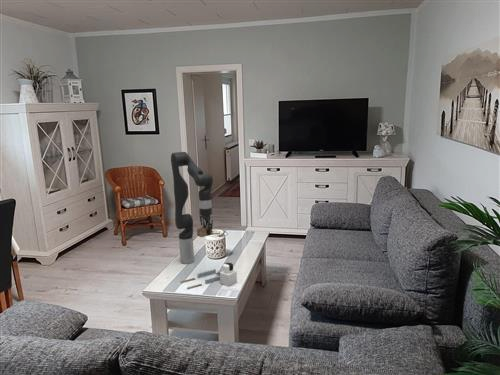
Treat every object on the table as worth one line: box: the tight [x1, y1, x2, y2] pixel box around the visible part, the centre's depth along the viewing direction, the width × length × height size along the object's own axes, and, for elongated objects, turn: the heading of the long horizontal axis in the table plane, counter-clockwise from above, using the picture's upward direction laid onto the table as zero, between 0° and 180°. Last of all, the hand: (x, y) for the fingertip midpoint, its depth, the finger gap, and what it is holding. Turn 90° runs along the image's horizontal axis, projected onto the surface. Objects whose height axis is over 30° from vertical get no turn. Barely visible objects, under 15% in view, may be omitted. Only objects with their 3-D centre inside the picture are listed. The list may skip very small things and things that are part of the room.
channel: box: [197, 268, 220, 285], centre depth 233 cm, size 12×12×2 cm
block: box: [196, 226, 213, 238], centre depth 231 cm, size 4×8×4 cm, turn 124°
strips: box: [180, 277, 203, 290], centre depth 227 cm, size 11×9×1 cm
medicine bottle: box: [219, 262, 238, 287], centre depth 225 cm, size 7×7×12 cm
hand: (206, 233), depth 232 cm, fingers closed on block, 4 cm apart
